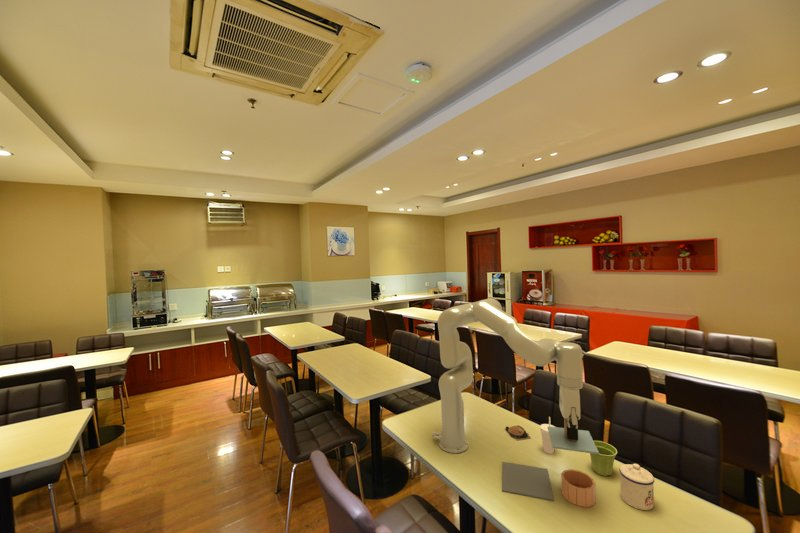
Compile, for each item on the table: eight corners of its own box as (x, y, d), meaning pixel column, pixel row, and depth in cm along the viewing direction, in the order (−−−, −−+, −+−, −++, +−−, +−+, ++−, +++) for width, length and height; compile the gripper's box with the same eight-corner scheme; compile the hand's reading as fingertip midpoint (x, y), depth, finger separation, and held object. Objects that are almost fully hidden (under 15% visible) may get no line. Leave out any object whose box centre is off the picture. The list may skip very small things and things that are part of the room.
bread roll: (532, 440, 140) (532, 431, 140) (515, 442, 139) (515, 434, 139) (519, 427, 151) (519, 419, 151) (502, 429, 149) (502, 421, 149)
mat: (502, 491, 109) (502, 490, 109) (502, 462, 124) (502, 461, 124) (553, 501, 104) (553, 499, 104) (547, 470, 119) (547, 468, 119)
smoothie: (559, 456, 127) (558, 421, 127) (542, 455, 128) (541, 420, 128) (555, 447, 133) (554, 414, 133) (538, 445, 135) (538, 412, 134)
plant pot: (618, 483, 112) (617, 458, 112) (586, 474, 117) (586, 450, 116) (616, 468, 120) (616, 444, 119) (587, 460, 125) (587, 438, 124)
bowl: (564, 503, 103) (564, 486, 103) (559, 482, 112) (559, 467, 112) (598, 509, 100) (598, 492, 100) (590, 488, 109) (590, 472, 109)
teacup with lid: (652, 516, 97) (652, 478, 97) (617, 501, 103) (616, 465, 103) (657, 494, 106) (656, 459, 106) (623, 482, 112) (623, 449, 112)
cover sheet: (552, 448, 103) (552, 427, 103) (547, 427, 115) (547, 409, 115) (599, 454, 99) (598, 433, 98) (588, 432, 111) (588, 413, 111)
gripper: (553, 371, 116) (555, 421, 116) (561, 389, 100) (562, 447, 100) (577, 373, 113) (578, 424, 114) (588, 391, 97) (590, 451, 98)
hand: (571, 434), depth 107 cm, fingers closed on cover sheet, 4 cm apart
